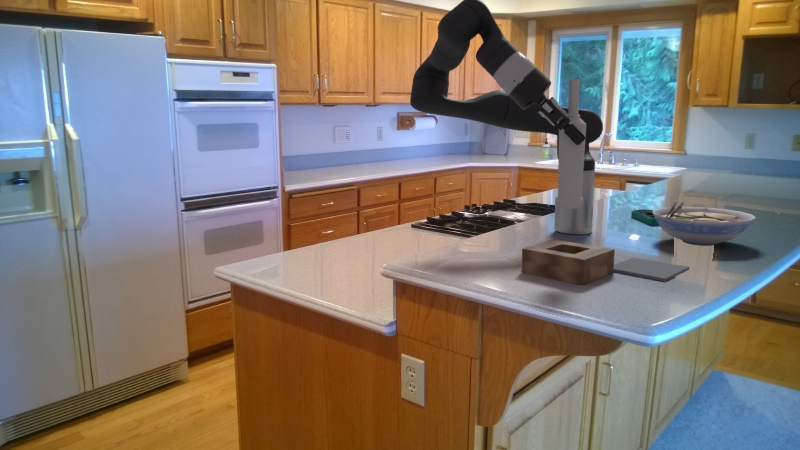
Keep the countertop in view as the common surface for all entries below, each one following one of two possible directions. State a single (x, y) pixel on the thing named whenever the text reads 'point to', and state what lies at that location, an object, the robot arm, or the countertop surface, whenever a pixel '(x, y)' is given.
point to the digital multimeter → (645, 216)
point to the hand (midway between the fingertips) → (581, 141)
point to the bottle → (571, 156)
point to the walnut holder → (568, 261)
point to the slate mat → (649, 269)
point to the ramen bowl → (702, 224)
